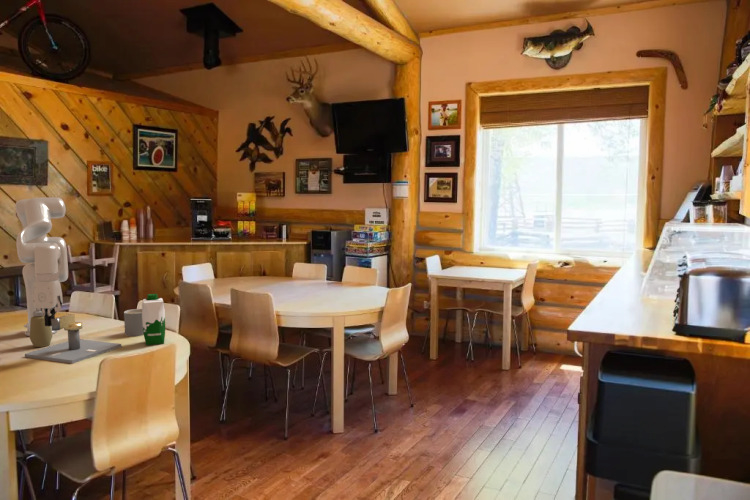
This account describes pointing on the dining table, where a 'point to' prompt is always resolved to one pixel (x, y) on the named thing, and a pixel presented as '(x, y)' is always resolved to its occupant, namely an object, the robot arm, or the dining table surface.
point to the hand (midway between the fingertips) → (50, 325)
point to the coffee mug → (133, 322)
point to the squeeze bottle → (39, 330)
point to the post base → (72, 353)
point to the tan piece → (65, 323)
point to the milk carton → (153, 319)
